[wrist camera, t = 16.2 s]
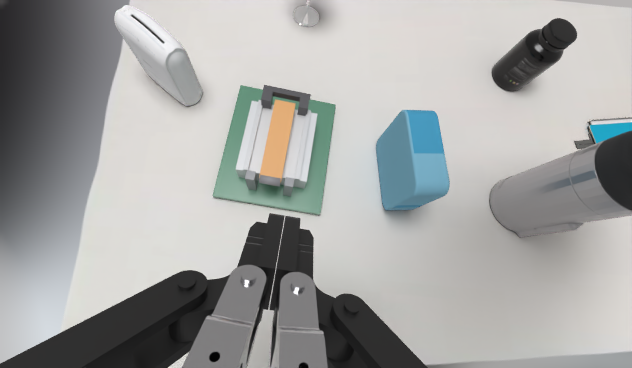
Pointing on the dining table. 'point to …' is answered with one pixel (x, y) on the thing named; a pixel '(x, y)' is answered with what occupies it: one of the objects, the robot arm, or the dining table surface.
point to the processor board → (270, 191)
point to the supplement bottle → (534, 54)
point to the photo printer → (159, 54)
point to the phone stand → (605, 130)
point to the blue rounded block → (412, 161)
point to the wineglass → (306, 15)
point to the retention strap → (277, 143)
